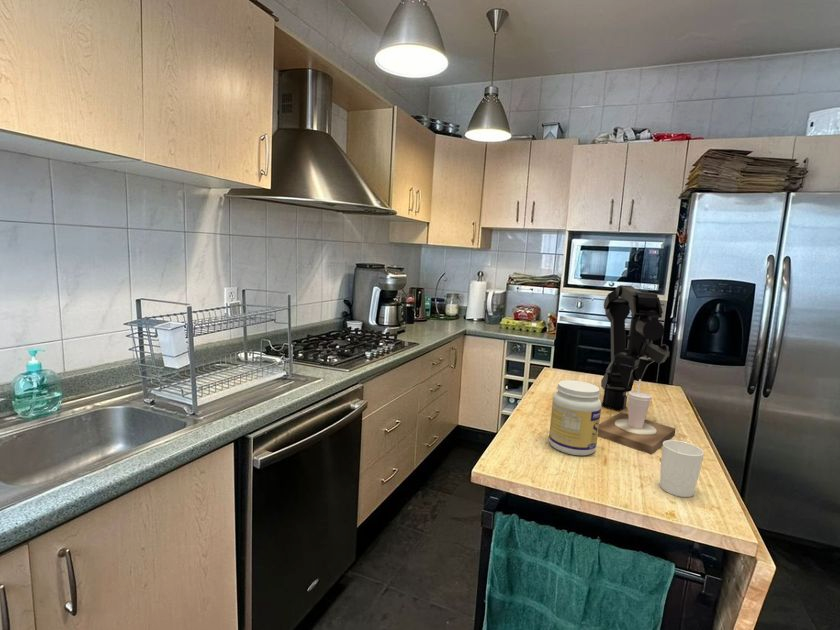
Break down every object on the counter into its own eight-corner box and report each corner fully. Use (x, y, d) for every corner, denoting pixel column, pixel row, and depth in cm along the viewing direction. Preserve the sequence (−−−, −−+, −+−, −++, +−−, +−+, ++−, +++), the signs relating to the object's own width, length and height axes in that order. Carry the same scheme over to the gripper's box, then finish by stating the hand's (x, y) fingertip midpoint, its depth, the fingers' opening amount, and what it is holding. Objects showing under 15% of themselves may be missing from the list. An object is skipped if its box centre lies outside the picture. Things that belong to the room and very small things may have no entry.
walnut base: (592, 434, 130) (593, 425, 130) (619, 418, 144) (620, 410, 144) (651, 454, 119) (653, 444, 119) (674, 435, 133) (675, 426, 133)
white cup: (692, 485, 104) (698, 444, 102) (700, 502, 96) (708, 458, 95) (654, 477, 106) (660, 437, 105) (659, 494, 99) (666, 451, 97)
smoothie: (619, 421, 134) (625, 375, 132) (639, 422, 135) (646, 376, 133) (630, 430, 128) (637, 382, 126) (652, 430, 128) (659, 383, 126)
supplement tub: (596, 461, 113) (604, 396, 110) (546, 450, 117) (552, 388, 115) (595, 442, 124) (603, 383, 122) (549, 433, 128) (556, 376, 126)
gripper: (656, 342, 124) (647, 396, 127) (679, 335, 137) (671, 385, 139) (615, 334, 132) (609, 385, 135) (641, 329, 145) (634, 376, 147)
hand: (632, 383), depth 139 cm, fingers open, 9 cm apart
